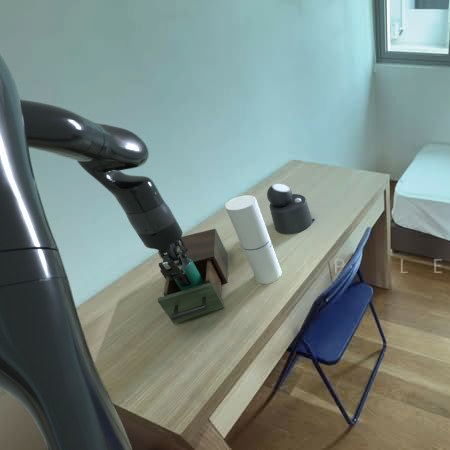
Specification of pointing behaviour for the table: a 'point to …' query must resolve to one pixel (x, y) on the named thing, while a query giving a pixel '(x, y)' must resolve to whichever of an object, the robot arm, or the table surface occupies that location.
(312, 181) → the table surface
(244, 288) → the table surface
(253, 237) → the cylindrical container
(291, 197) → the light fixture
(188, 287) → the can
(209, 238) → the cabinet
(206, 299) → the drawer
